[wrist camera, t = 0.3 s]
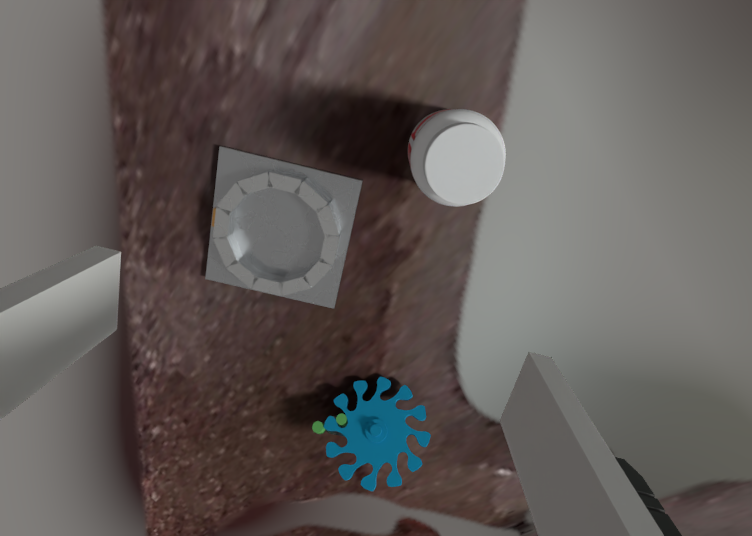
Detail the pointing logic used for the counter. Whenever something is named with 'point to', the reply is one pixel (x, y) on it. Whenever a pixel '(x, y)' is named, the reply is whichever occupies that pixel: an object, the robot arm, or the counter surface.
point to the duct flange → (280, 226)
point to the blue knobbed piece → (374, 432)
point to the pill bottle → (456, 156)
